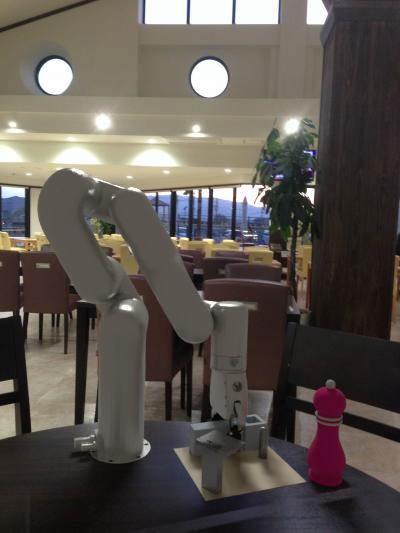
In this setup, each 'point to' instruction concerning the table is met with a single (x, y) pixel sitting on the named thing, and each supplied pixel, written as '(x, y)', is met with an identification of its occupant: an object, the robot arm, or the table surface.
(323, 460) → the pepper mill
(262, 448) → the post
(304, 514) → the table surface
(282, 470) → the base board
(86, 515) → the table surface
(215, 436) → the block
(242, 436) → the link
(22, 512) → the table surface
